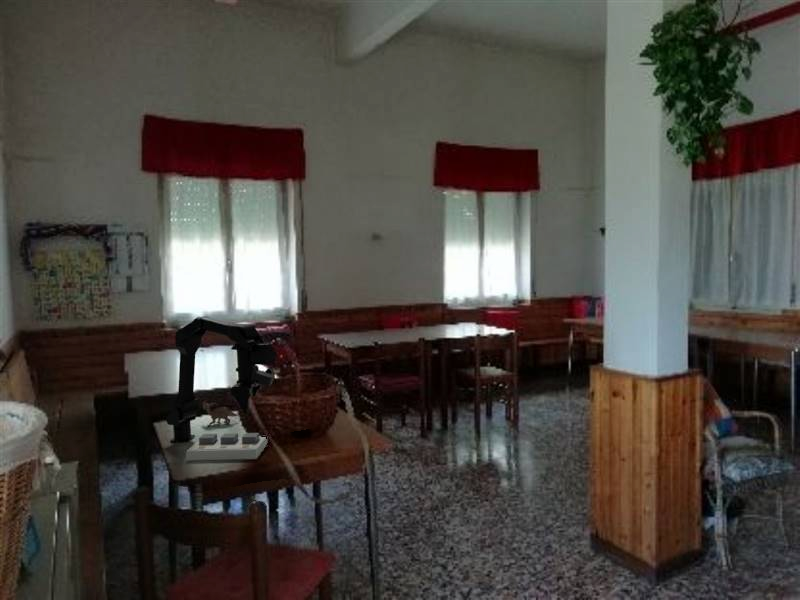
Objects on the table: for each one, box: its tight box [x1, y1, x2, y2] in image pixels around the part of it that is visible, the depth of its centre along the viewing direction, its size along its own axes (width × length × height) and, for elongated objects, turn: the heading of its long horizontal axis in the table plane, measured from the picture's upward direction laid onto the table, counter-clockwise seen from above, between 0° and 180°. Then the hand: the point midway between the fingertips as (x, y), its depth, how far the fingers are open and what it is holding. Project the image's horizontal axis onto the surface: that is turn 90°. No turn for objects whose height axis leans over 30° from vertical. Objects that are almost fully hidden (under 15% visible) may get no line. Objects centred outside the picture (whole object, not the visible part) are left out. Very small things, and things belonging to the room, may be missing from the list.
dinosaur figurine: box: [202, 399, 239, 427], centre depth 231 cm, size 14×6×9 cm, turn 94°
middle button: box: [220, 432, 239, 444], centre depth 198 cm, size 4×4×2 cm
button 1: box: [198, 433, 218, 445], centre depth 198 cm, size 4×4×2 cm
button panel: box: [186, 435, 268, 461], centre depth 197 cm, size 14×22×3 cm, turn 88°
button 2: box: [241, 432, 260, 444], centre depth 198 cm, size 4×4×2 cm
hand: (249, 411), depth 197 cm, fingers open, 6 cm apart
